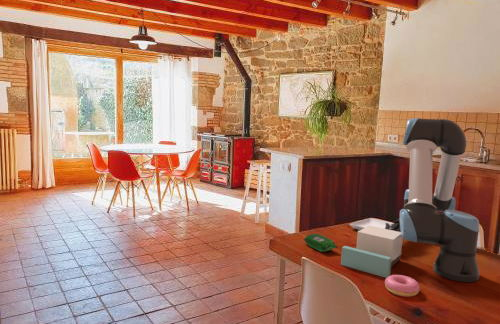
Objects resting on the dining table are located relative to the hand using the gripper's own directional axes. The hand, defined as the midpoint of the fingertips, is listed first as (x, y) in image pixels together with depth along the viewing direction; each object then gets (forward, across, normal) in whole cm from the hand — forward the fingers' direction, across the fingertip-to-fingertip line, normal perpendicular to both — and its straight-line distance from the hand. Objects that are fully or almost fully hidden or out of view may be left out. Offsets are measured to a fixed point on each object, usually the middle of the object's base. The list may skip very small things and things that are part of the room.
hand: (387, 236), depth 164 cm
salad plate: (-30, +15, -8) cm, 35 cm away
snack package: (+14, +24, -8) cm, 29 cm away
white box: (+10, 0, -5) cm, 11 cm away
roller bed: (+13, 0, -7) cm, 15 cm away
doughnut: (+32, -16, -8) cm, 37 cm away
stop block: (+24, 0, -7) cm, 25 cm away
